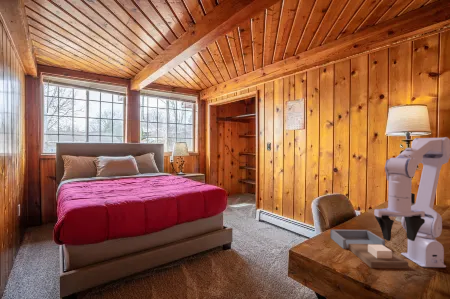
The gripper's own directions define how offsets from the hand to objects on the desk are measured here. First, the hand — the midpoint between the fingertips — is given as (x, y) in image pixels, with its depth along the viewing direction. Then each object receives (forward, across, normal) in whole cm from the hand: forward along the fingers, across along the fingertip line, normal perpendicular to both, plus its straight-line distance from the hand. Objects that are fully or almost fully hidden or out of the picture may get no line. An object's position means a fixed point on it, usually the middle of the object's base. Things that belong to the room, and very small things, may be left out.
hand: (398, 239), depth 72 cm
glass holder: (+10, -46, -52) cm, 71 cm away
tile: (+8, 0, -8) cm, 12 cm away
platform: (+10, 0, -10) cm, 14 cm away
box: (+10, 0, -22) cm, 24 cm away
